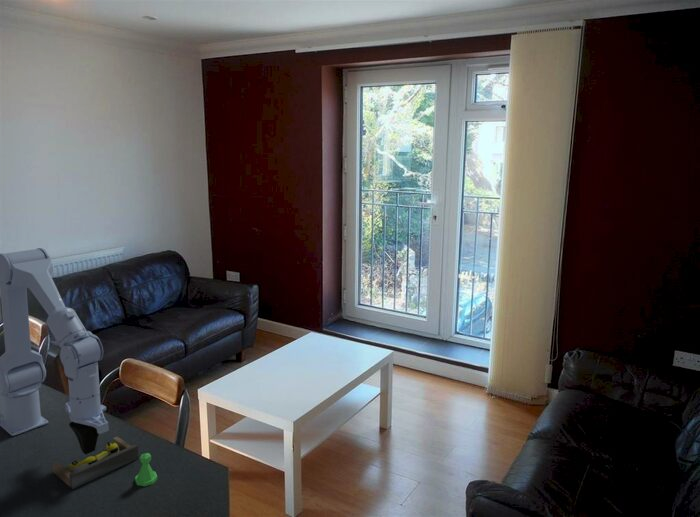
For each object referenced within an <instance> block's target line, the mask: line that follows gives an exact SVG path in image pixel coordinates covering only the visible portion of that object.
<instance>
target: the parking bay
mask: <svg viewBox="0 0 700 517" xmlns="http://www.w3.org/2000/svg"><path fill="white" fill-rule="evenodd" d="M113 443H116V444H117V445H118V448H119V452H117V453H115V454H112V455H110V456H108V457H106V458H104V459H101V460H99V461H97V462H95V463H92V464H90V465H88V466H86V467H83V468H81V469H79V470H77V471H75V472H72V473H71V472H69V471H68V470H67V467H65V466H63V465H62V464H61V463H60V462H59V461H55V462H53V463H52V472H53V474H54V475H55V476H56V477H58V478H59V479H60V480H61V481H62V482H64V483H65V484H66V485H67V486H68V487H69V488H70V489H72V490H74V489H77V488H80V487H81V486H83V485H85V484H87V483H89V482H92V481H94V480H95V479H98V478H100V477H102V476H104V475H106V474H108V473H110V472H113V471H115V470H116V469H119V468H121V467H123V466H125V465H128V464H129V463H131V462H134V461H136V460H138V459H139V448H138V445H136V444H133V445H132V444H129V443H128V442H126V441H124V440H123V439H122V438H121V437H119V436H115V437H113V438H112V444H113Z"/></svg>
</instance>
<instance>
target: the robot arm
mask: <svg viewBox="0 0 700 517" xmlns="http://www.w3.org/2000/svg"><path fill="white" fill-rule="evenodd" d="M52 274H53V261H52V259H51V256H50V254H49V252H48V251H47V250H46V249H44V248H42V247H38V248H35V249H28V250H21V251H13V252H6V253H0V300H1V313H2V314H1V315H2V325H3V337H4V349H5V352H4V353H3V354H2V355H0V427H1V428H2V429H3V430H4V431H5V432H7V433H8V434H9V435H10V436H13V437H14V436H17V435H20V434H24V433H25V432H28V431H31V430H33V429H36V428H38V427H39V428H40V427H42V426H45V425H48V424H49V420H47V419H46V418H44V416H42V414H41V402H40V392H39V388H42V383H43V382H44V381H46V378H47V369H46V367H45V364H44V359H43V355H42V354H41V353H39V352H37V351H36V350H34V349H32V345H31V332H30V331H31V330H30V320H29V307H28V306H29V305H28V292H27V291H28V290H27V289H29V290H30V292H31V293H32V295H33V296H34V298H35V299H36V300H37V301H38V304H40V306H41V307H42V308H43V309H44V311H45V312H46V314H47V315H48V316H47V318H46V325H47V326H48V328H49V330H50V332H51V334H52V335H53V337H54V339H55V341H56V342H57V344H58V346H59V347H60V352H59V358H60V361H61V364H62V366H63V370H64V374H65V376H66V377H67V380H68V381H67V382H68V396H69V397H68V398H69V401H68V402H65V405H64V406H65V407H64V408H65V412H66V413H68V415H69V416H68V417H69V419H70V422H69V424H68V426H69V428H71V430H72V431H73V434H75V437H76V438H77V441H78V444H79V446H80V450H81V452H82V453H83V454H84V455H88V454H90V453H93V452H95V450H96V447H97V441H98V438H99V435H101V434H103V433H106V432H108V431H109V421H108V420H106V418H105V417H106V416H105V415H104V412H105V411H106V410H107V406H105V405H104V404H101V392H100V391H101V389H100V378H99V377H100V376H99V375H100V374H99V373H100V372H99V362H100V361H101V360H102V359H103V357H104V347H103V344H102V342H101V339H100V338H99V337H98V336H97V335H96V334H93V333H92V331H90V330H87V329H86V328H85V325H84V324H83V322H82V321H81V319H80V318H79V316H78V314H77V312H76V311H75V310H74V308H71V307H68V306H66V305H65V303H64V301H63V298H62V296H61V294H60V292H59V289H58V288H57V286H56V284H55V281H54V279H53V277H52ZM98 361H99V362H98Z"/></svg>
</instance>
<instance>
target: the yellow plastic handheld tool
mask: <svg viewBox="0 0 700 517" xmlns="http://www.w3.org/2000/svg"><path fill="white" fill-rule="evenodd" d="M105 445H106V450H104V451H101V452H100V453H99V454H96V455H95V456H93V455H91V456H88V457H86V458H85V459H83V460H81V461H77V460H73V461H72V462H71V463H70V464H69V465H67V466H66V469H67V470H68V471H69V472H71V473H72V472H75V471H77V470H79V469H81V468H83V467H86V466H88V465H90V464H92V463H95V462H97V461H99V460H101V459H104V458H106V457H108V456H110V455H112V454H115V453H117V452H119V451H120V450H119V448H118V445H117V444H116V443H113V442H112V443H110V442H109V441H108V442H107V444H105Z"/></svg>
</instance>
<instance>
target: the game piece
mask: <svg viewBox="0 0 700 517" xmlns="http://www.w3.org/2000/svg"><path fill="white" fill-rule="evenodd" d="M151 460H152V455H151V454H150V453H149V452H146V453H142V454H141V455H140V457H139V461H140V463H141V464H142V465H141V467H140V469H139V472H138V473H137V475H136V476H134V477H135V478H134V481H135V484H136V485H137V486H140V487H148V486H150V485H153V484H154V483H156V481H157V480H158V475H157V472H156V471H154V470H153V469H152V467H151V465H150V464H149V463H150V462H151Z"/></svg>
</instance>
